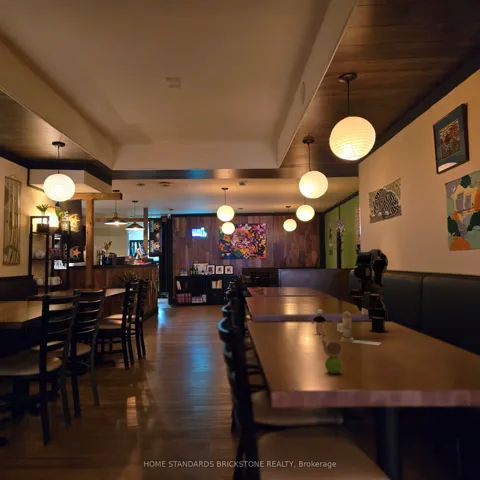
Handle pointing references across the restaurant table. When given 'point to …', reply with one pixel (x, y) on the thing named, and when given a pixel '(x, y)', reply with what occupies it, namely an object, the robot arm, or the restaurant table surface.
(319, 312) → the grandmother figurine
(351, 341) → the board
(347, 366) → the restaurant table surface
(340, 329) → the die
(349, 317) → the pawn
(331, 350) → the snail figurine
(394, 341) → the restaurant table surface
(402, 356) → the restaurant table surface
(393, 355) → the restaurant table surface
